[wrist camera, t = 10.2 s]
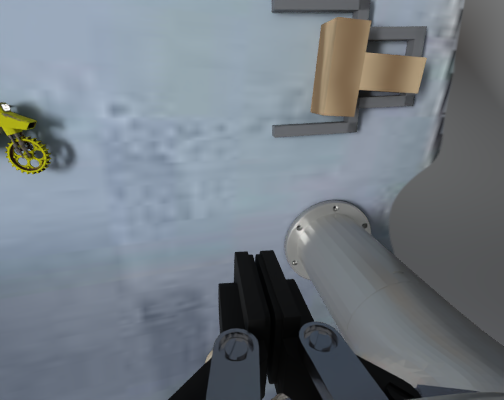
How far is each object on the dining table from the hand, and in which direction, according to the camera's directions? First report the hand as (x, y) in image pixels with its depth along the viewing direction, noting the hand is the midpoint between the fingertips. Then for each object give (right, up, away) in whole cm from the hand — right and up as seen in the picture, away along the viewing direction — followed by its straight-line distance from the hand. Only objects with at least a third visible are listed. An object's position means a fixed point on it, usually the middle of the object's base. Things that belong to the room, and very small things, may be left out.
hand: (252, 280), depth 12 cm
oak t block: (+12, +18, +21) cm, 30 cm away
